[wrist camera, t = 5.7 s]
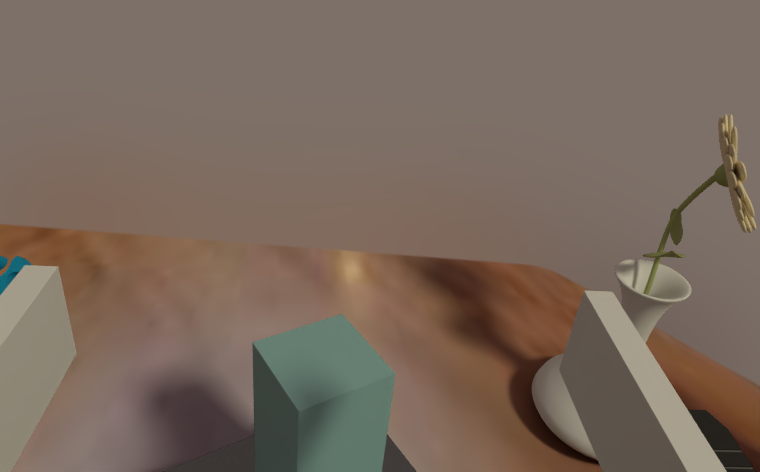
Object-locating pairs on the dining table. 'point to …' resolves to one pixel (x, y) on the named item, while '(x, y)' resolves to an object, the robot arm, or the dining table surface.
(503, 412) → the dining table surface
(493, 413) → the dining table surface
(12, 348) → the robot arm
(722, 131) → the flower in vase
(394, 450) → the socket block
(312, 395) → the peg
